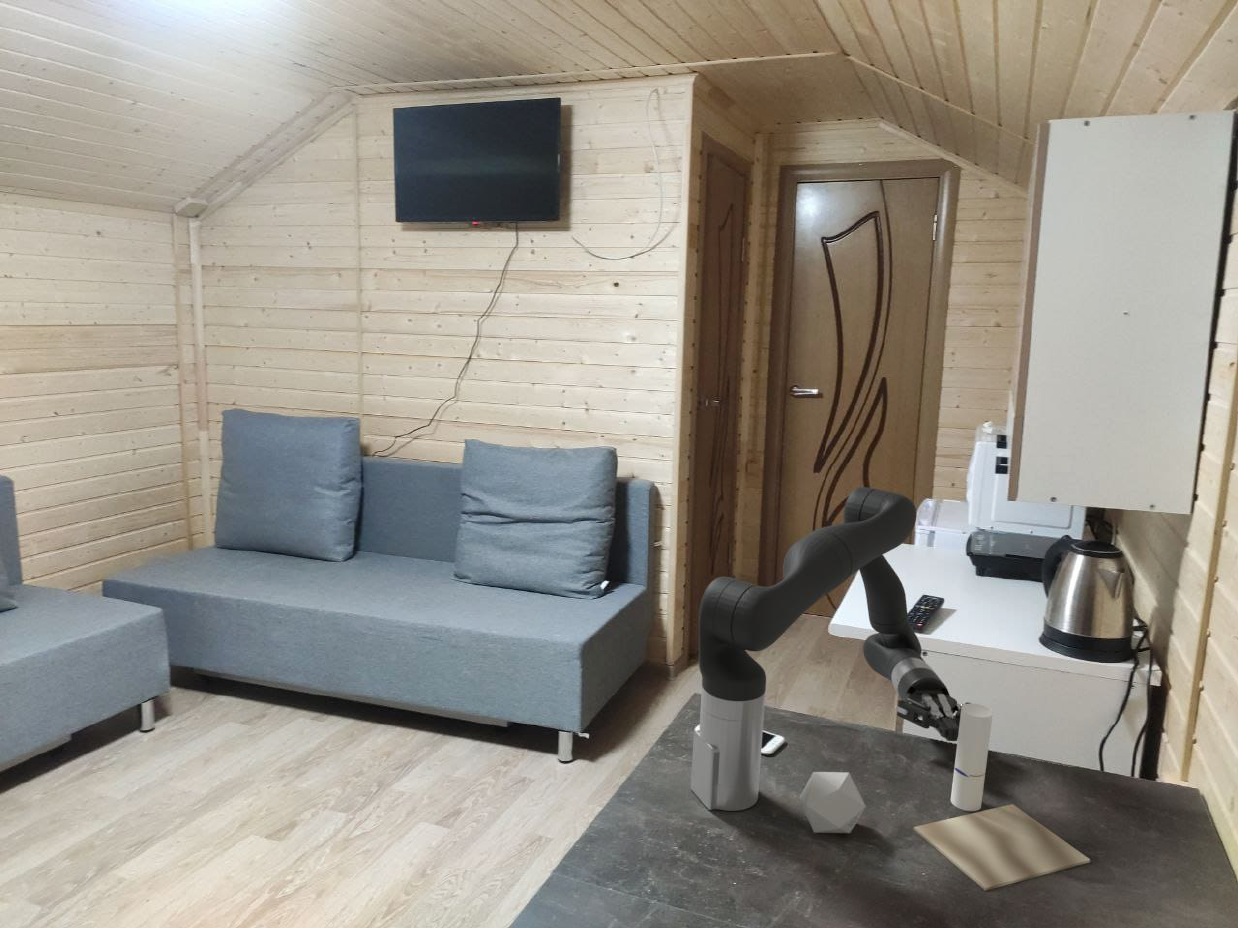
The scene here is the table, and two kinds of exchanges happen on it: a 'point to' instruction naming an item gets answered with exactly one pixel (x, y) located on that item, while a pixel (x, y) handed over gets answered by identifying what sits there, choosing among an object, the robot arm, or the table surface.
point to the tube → (971, 757)
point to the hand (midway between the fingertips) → (953, 735)
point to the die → (832, 802)
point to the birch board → (1000, 846)
